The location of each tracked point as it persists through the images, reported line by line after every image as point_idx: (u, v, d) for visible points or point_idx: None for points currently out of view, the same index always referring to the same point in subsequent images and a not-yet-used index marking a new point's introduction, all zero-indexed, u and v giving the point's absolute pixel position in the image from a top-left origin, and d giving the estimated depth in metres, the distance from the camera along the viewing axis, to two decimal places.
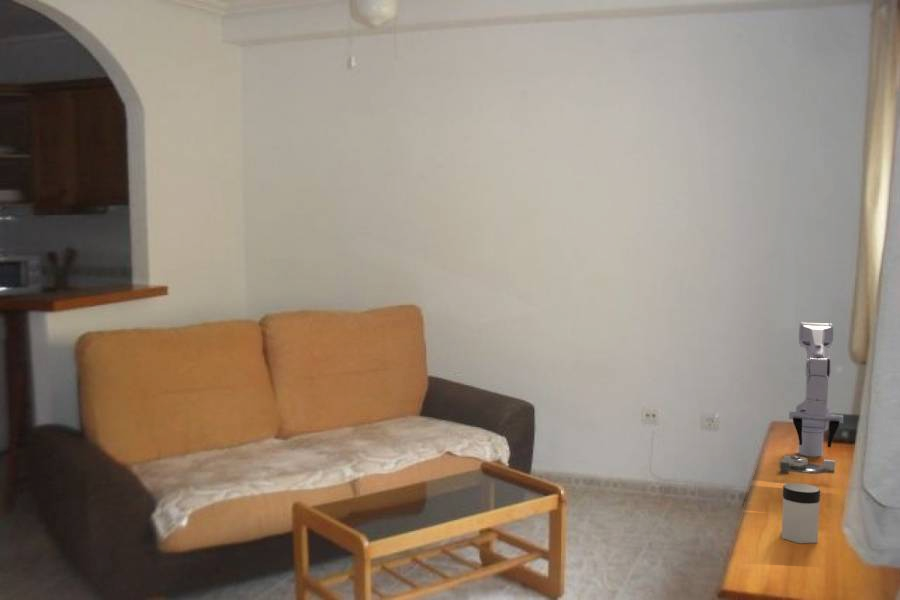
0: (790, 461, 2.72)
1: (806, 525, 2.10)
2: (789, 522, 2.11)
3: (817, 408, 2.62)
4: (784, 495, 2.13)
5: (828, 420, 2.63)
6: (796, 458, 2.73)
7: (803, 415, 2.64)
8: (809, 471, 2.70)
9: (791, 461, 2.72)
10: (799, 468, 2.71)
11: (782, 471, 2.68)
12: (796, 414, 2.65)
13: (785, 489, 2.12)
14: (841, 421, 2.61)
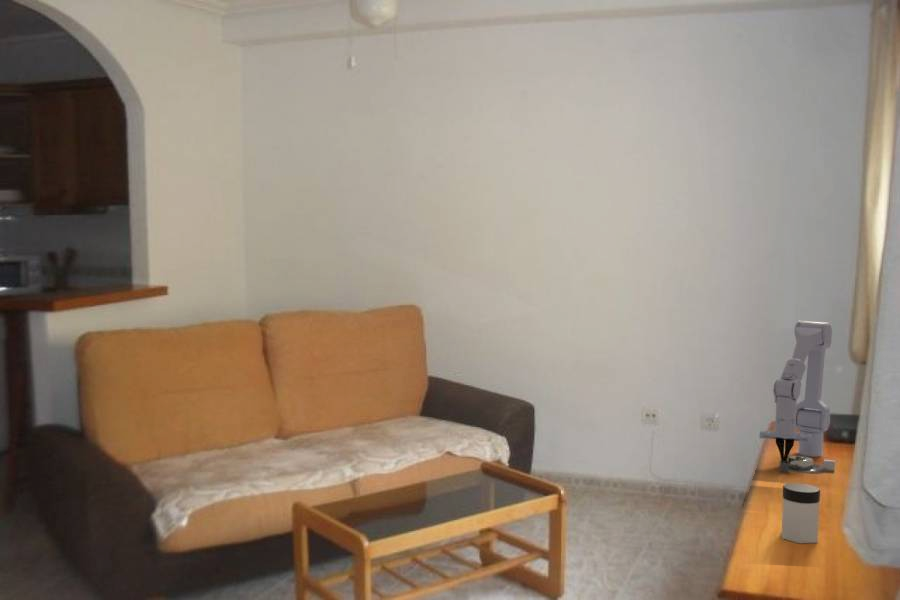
0: (796, 461, 2.72)
1: (806, 525, 2.10)
2: (789, 522, 2.11)
3: (785, 428, 2.72)
4: (784, 495, 2.13)
5: (796, 439, 2.74)
6: (802, 458, 2.73)
7: (772, 434, 2.75)
8: (809, 471, 2.70)
9: (797, 461, 2.71)
10: (805, 468, 2.71)
11: (782, 471, 2.68)
12: (766, 433, 2.76)
13: (785, 489, 2.12)
14: (809, 440, 2.72)
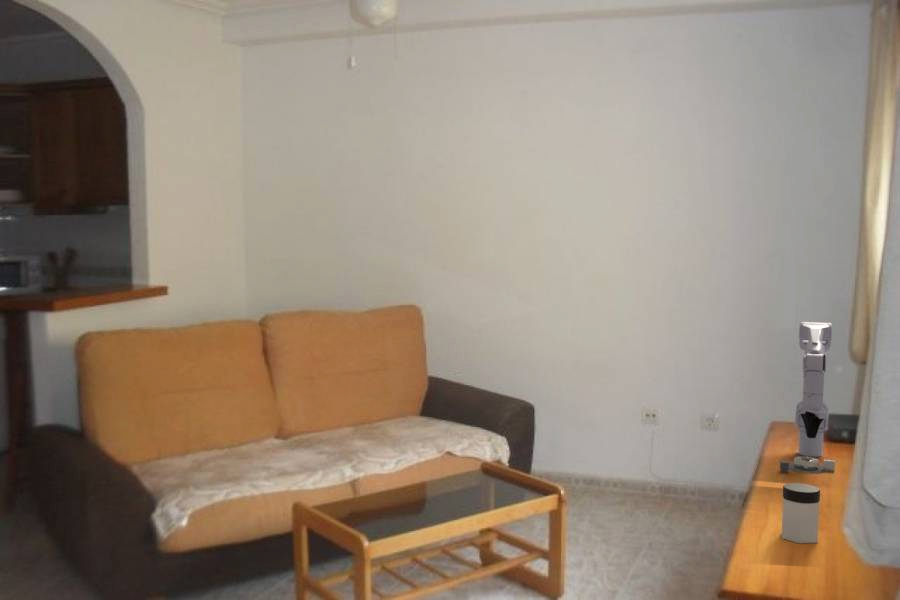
0: (801, 462, 2.71)
1: (806, 525, 2.10)
2: (789, 522, 2.11)
3: (803, 400, 2.76)
4: (784, 495, 2.13)
5: (816, 414, 2.73)
6: (807, 459, 2.72)
7: (801, 406, 2.79)
8: (809, 471, 2.70)
9: (802, 462, 2.71)
10: (810, 469, 2.70)
11: (782, 471, 2.68)
12: (800, 405, 2.81)
13: (785, 489, 2.12)
14: (819, 416, 2.69)
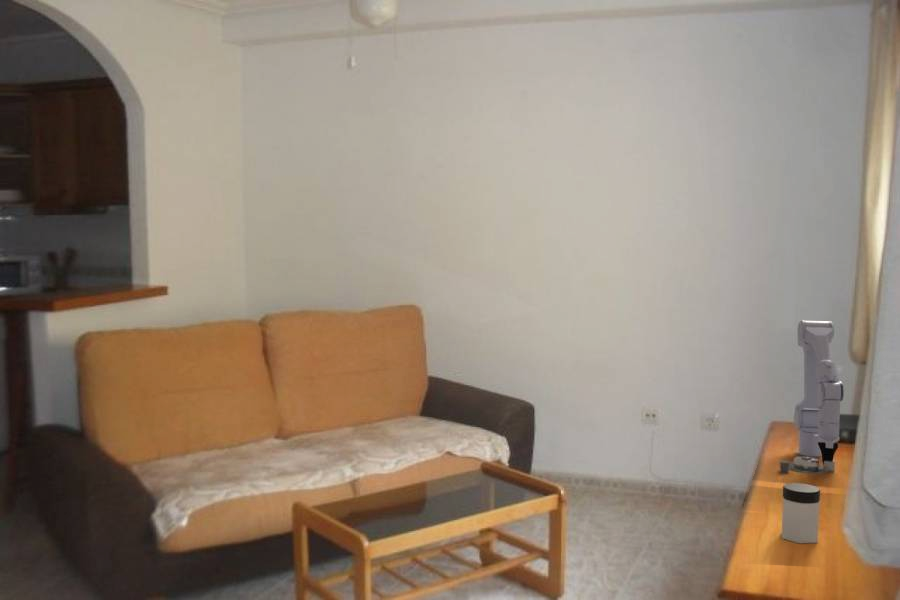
0: (801, 462, 2.71)
1: (806, 525, 2.10)
2: (789, 522, 2.11)
3: (818, 428, 2.73)
4: (784, 495, 2.13)
5: None
6: (807, 459, 2.72)
7: None
8: (809, 471, 2.70)
9: (802, 462, 2.71)
10: (810, 469, 2.70)
11: (782, 471, 2.68)
12: None
13: (785, 489, 2.12)
14: (825, 445, 2.66)
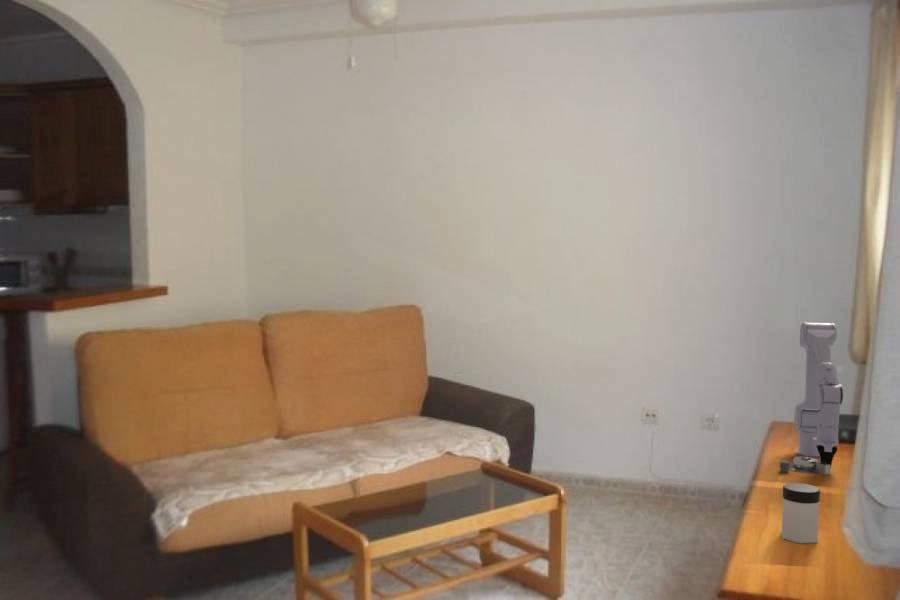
0: (794, 460, 2.73)
1: (806, 525, 2.10)
2: (789, 522, 2.11)
3: (817, 431, 2.70)
4: (784, 495, 2.13)
5: None
6: (803, 459, 2.73)
7: None
8: (798, 470, 2.71)
9: (795, 460, 2.73)
10: (801, 468, 2.71)
11: (782, 471, 2.68)
12: None
13: (785, 489, 2.12)
14: (824, 449, 2.63)
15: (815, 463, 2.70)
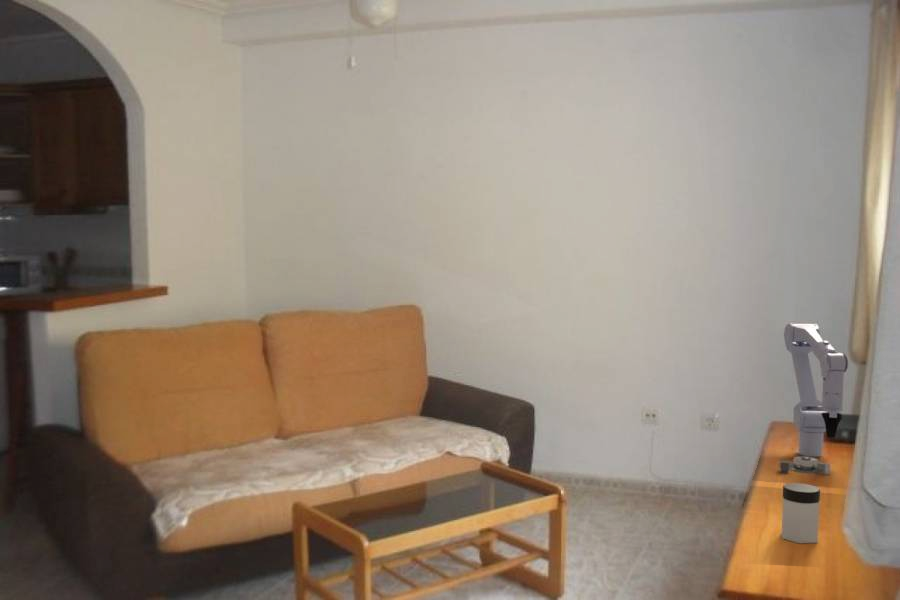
0: (794, 460, 2.73)
1: (806, 525, 2.10)
2: (789, 522, 2.11)
3: (822, 399, 2.77)
4: (784, 495, 2.13)
5: None
6: (803, 459, 2.73)
7: None
8: (798, 470, 2.71)
9: (795, 460, 2.73)
10: (801, 468, 2.71)
11: (782, 471, 2.68)
12: None
13: (785, 489, 2.12)
14: (829, 415, 2.71)
15: (815, 463, 2.70)
